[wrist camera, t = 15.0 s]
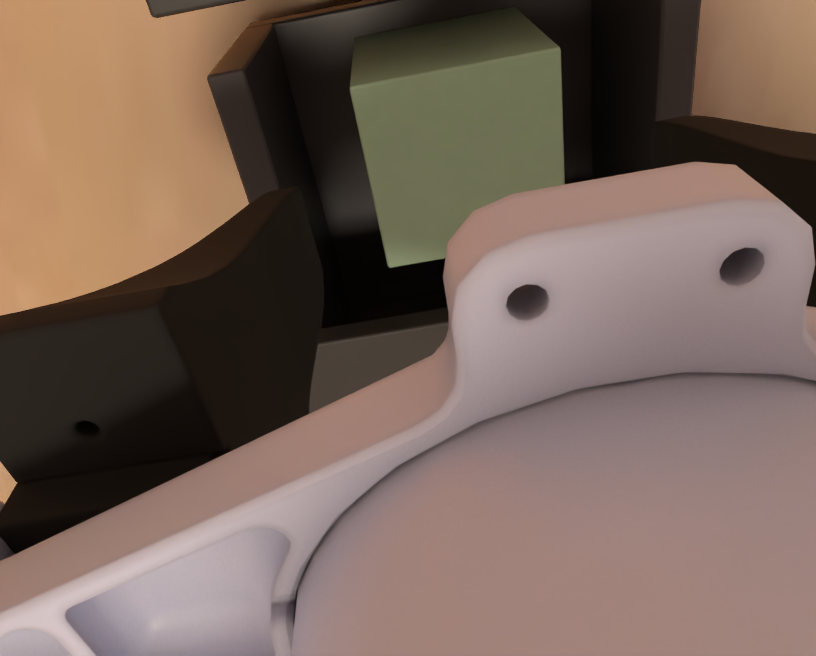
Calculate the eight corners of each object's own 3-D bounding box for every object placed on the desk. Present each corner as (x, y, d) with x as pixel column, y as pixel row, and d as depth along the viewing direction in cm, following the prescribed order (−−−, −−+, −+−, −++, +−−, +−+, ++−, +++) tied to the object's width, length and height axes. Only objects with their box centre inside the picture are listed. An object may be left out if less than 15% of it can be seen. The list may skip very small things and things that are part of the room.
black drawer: (118, -339, 14) (-26, -463, 9) (642, -461, 13) (812, -669, 8) (317, 316, 24) (304, 435, 19) (622, 264, 23) (694, 373, 18)
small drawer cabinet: (276, 218, 22) (238, 357, 16) (635, 153, 22) (748, 271, 15) (357, 477, 30) (354, 641, 24) (625, 435, 29) (697, 593, 23)
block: (515, 6, 17) (561, 46, 13) (525, 163, 20) (566, 238, 16) (353, 37, 17) (348, 87, 13) (384, 188, 20) (388, 269, 16)
